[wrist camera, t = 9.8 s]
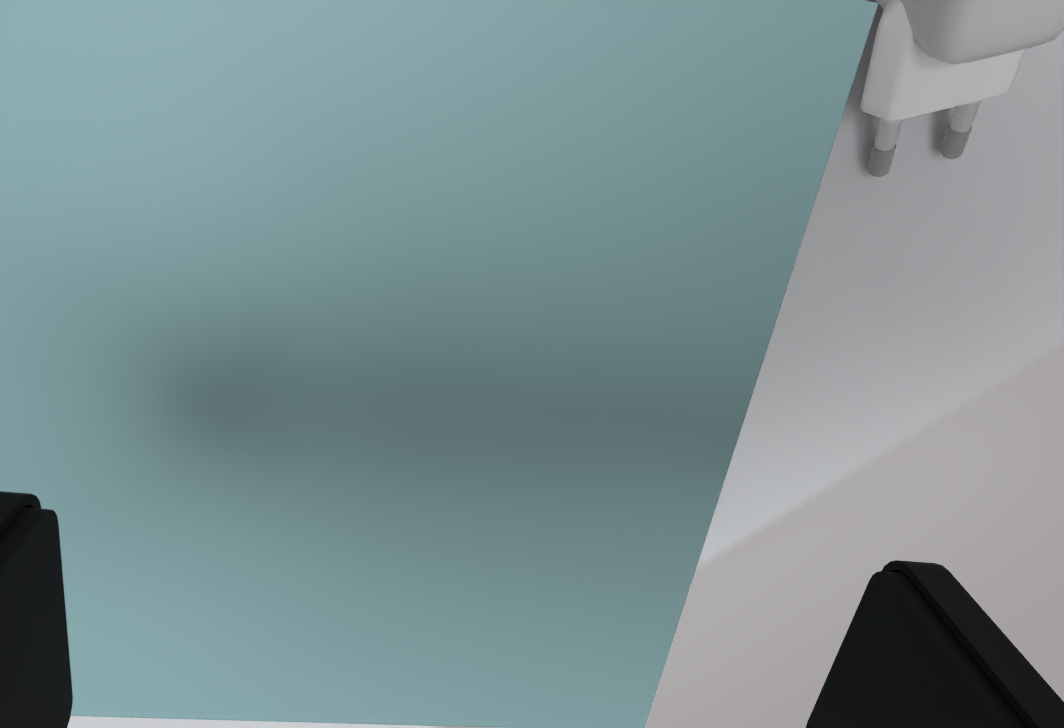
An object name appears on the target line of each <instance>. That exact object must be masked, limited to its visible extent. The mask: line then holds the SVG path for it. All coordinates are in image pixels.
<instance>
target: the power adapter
mask: <svg viewBox="0 0 1064 728" xmlns="http://www.w3.org/2000/svg"><path fill="white" fill-rule="evenodd" d="M876 2H877V3H878V4H879V5H880V6H881V7H882V8H883V12H882V15H881V19H880V22H879V26H878V29H877V32H876V37H875V41H874V46H873V50H872V55H871V60H870V64H869V69H868V73H867V78H866V82H865V87H864V91H863V96H862V101H861V105H860V108H861V110H862V111H863V112H865V113H868V114H870V115H873V116H876V117H878V118H880V123H879V127H878V131H877V135H876V139H875V142H874V143H873V147H872V151H871V155H870V159H869V163H868V172H869V173H870V174H871V175H872V176H875V177H882V176H884V175H886V174H887V173H888V172H889V170H890V166H891V163H892V159H893V155H894V152H895V148H896V141H897V137H898V133H899V130H900V126H901V122H902V121H903V119H907V118H911V117H915V116H919V115H923V114H927V113H931V112H935V111H940V110H944V109H948V108H952V107H956V108H955V111H954V114H953V117H952V120H951V122H950V123H949V126H948V129H947V132H946V135H945V138H944V141H943V144H942V147H941V153H942V155H943V156H944V157H946V158H948V159H955V158H958V157H959V156H961V155H962V153H963V151H964V148H965V146H966V143H967V140H968V137H969V134H970V132H971V129H972V123H973V120H974V117H975V115H976V112H977V109H978V106H979V104H980V103H981V102H982V100H984V99H988V98H993V97H996V96H998V95H1001V94H1003V93H1006V92H1008V91H1010V88H1011V86H1012V83H1013V80H1014V78H1015V75H1016V73H1017V70H1018V68H1019V65H1020V62H1021V60H1022V57H1023V55H1024V52H1025V50H1026V49H1027V48H1030V47H1034V46H1037V45H1040V44H1043V43H1046V42H1049V41H1051V40H1054V39H1055V38H1056V37H1057V36H1058V35H1059V34H1060V33H1061V32H1062V31H1063V30H1064V0H876Z"/></svg>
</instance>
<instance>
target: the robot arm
mask: <svg viewBox="0 0 1064 728" xmlns="http://www.w3.org/2000/svg"><path fill="white" fill-rule="evenodd" d="M72 703H73V693H72V680H71V668H70V656H69V644H68V632H67V620H66V608H65V596H64V584H63V572H62V560H61V548H60V536H59V523H58V517H57V514H56V513H55V511H53V510H51V509H41V504H40V501H39V499H38V497H37V496H35V495H33V494H29V493H16V492H3V491H0V728H67V726H68V723H69V719H70V715H71V711H72ZM806 728H1064V702H1063V701H1062V700H1061V698H1060V697H1059V696H1058V695H1057V694H1056V693H1055V692H1054V690H1053V689H1052V688H1051V687H1050V686H1049V685H1048V684H1047V682H1046V681H1045V680H1044V679H1043V678H1042V677H1041V676H1040V674H1039V673H1038V672H1037V671H1036V670H1035V669H1034V668H1033V667H1032V665H1031V664H1030V663H1029V662H1028V661H1027V660H1026V659H1025V657H1024V656H1023V655H1022V654H1021V653H1020V652H1019V651H1018V649H1017V648H1016V647H1015V646H1014V645H1013V644H1012V643H1011V641H1010V640H1009V639H1008V638H1007V637H1006V636H1005V635H1004V633H1003V632H1002V631H1001V630H1000V629H999V628H998V626H997V625H996V624H995V623H994V622H993V621H992V620H991V618H990V617H989V616H988V615H987V614H986V613H985V612H984V611H983V610H982V609H981V607H980V606H979V605H978V604H977V603H976V601H975V600H974V599H973V598H972V597H971V596H970V595H969V593H968V592H967V591H966V590H965V589H964V588H963V587H962V585H961V584H960V583H959V582H958V581H957V580H956V579H955V578H954V577H953V575H952V574H951V573H950V572H949V571H948V570H947V569H946V568H945V567H943V566H941V565H939V564H935V563H922V562H910V561H891V562H889V563H888V564H887V565H885V566H884V568H883V570H882V571H880V572H877V573H875V574H874V575H873V576H872V577H871V579H870V581H869V583H868V585H867V588H866V590H865V592H864V595H863V597H862V599H861V601H860V604H859V606H858V608H857V610H856V613H855V615H854V617H853V620H852V622H851V624H850V627H849V629H848V631H847V633H846V635H845V638H844V640H843V642H842V645H841V647H840V649H839V652H838V654H837V656H836V658H835V661H834V663H833V665H832V667H831V670H830V672H829V674H828V677H827V679H826V681H825V684H824V686H823V688H822V690H821V693H820V695H819V697H818V700H817V702H816V704H815V706H814V709H813V711H812V713H811V715H810V718H809V720H808V722H807V726H806Z"/></svg>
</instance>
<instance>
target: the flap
mask: <svg viewBox="0 0 1064 728" xmlns="http://www.w3.org/2000/svg"><path fill="white" fill-rule="evenodd" d="M877 6H878V3H876V2H871V1H866V0H0V491H3V492H16V493H29V494H33V495H35V496H37V497H38V499H39V501H40V504H41V509H51V510H53V511H55V513H56V514H57V517H58V523H59V536H60V548H61V560H62V572H63V584H64V596H65V608H66V620H67V632H68V644H69V656H70V668H71V680H72V693H73V703H72V711H71V715H70V716H94V717H131V718H167V719H204V720H240V721H277V722H313V723H350V724H387V725H423V726H460V727H461V726H462V727H496V728H644V727H645V724H646V721H647V718H648V715H649V712H650V709H651V706H652V703H653V699H654V696H655V693H656V690H657V687H658V684H659V681H660V678H661V675H662V672H663V668H664V665H665V662H666V659H667V656H668V653H669V650H670V647H671V644H672V641H673V638H674V634H675V631H676V628H677V625H678V622H679V619H680V616H681V613H682V610H683V606H684V604H685V600H686V597H687V594H688V591H689V588H690V585H691V582H692V579H693V576H694V573H695V570H696V566H697V563H698V560H699V557H700V554H701V551H702V548H703V545H704V542H705V539H706V535H707V532H708V529H709V526H710V523H711V520H712V517H713V514H714V511H715V508H716V505H717V501H718V498H719V495H720V492H721V489H722V486H723V483H724V480H725V477H726V474H727V470H728V467H729V464H730V461H731V458H732V455H733V452H734V449H735V446H736V443H737V440H738V436H739V433H740V430H741V427H742V424H743V421H744V418H745V415H746V412H747V409H748V406H749V402H750V399H751V396H752V393H753V390H754V387H755V384H756V381H757V378H758V375H759V371H760V368H761V365H762V362H763V359H764V356H765V353H766V350H767V347H768V344H769V341H770V337H771V334H772V331H773V328H774V325H775V322H776V319H777V316H778V313H779V310H780V307H781V303H782V300H783V297H784V294H785V291H786V288H787V285H788V282H789V279H790V276H791V272H792V269H793V266H794V263H795V260H796V257H797V254H798V251H799V248H800V245H801V242H802V238H803V235H804V232H805V229H806V226H807V223H808V220H809V217H810V214H811V211H812V207H813V204H814V201H815V198H816V195H817V192H818V189H819V186H820V183H821V180H822V177H823V173H824V170H825V167H826V164H827V161H828V158H829V155H830V152H831V149H832V146H833V143H834V139H835V136H836V133H837V130H838V127H839V124H840V121H841V118H842V115H843V112H844V108H845V105H846V102H847V99H848V96H849V93H850V90H851V87H852V84H853V81H854V78H855V74H856V71H857V68H858V65H859V62H860V59H861V56H862V53H863V50H864V47H865V43H866V40H867V37H868V34H869V31H870V28H871V25H872V22H873V19H874V16H875V13H876V9H877Z"/></svg>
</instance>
